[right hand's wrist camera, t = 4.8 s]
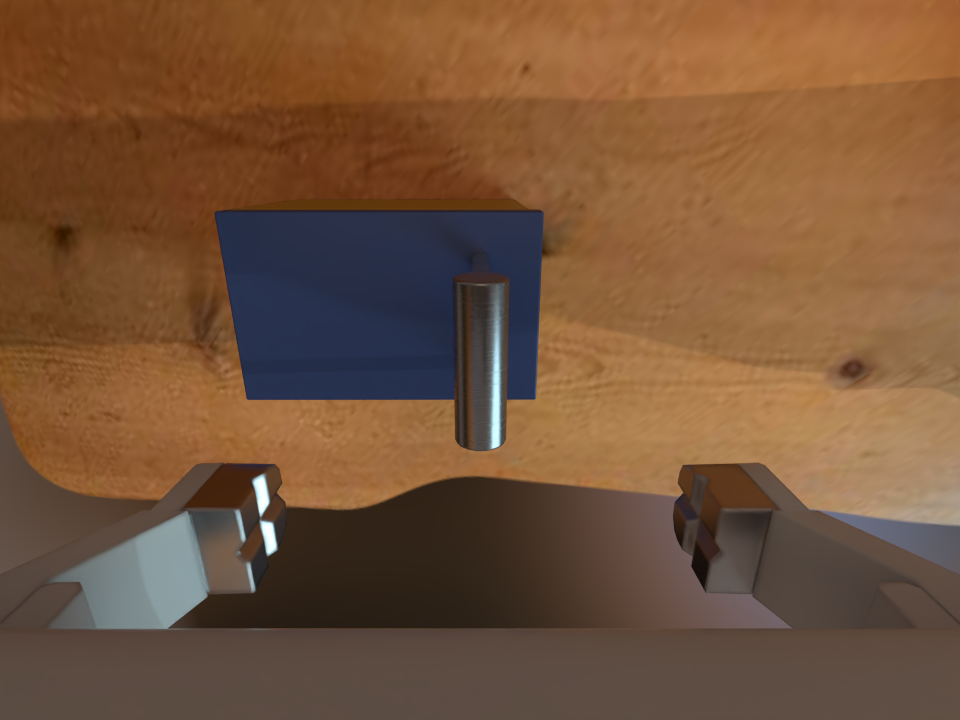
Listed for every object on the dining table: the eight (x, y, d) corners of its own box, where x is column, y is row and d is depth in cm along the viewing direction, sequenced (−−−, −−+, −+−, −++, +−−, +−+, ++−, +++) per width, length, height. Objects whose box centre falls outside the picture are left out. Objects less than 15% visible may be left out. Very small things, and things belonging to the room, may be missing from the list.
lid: (540, 209, 23) (575, 229, 15) (533, 390, 26) (558, 490, 18) (226, 209, 23) (84, 229, 15) (256, 390, 26) (153, 491, 18)
